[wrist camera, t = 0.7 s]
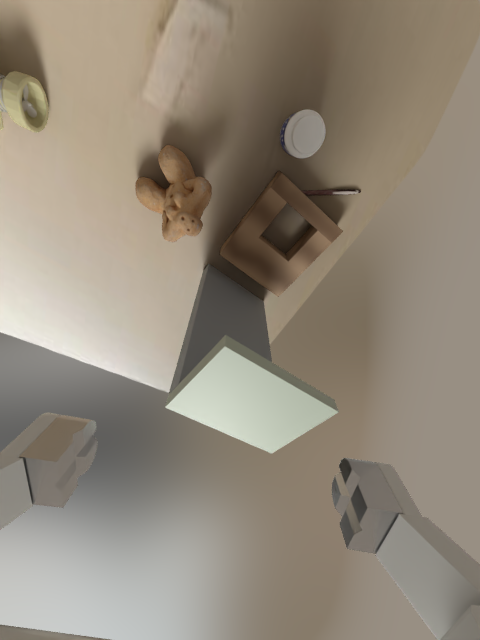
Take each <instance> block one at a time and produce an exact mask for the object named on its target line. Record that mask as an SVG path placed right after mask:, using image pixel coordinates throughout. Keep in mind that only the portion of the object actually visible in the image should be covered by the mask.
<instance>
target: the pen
mask: <svg viewBox="0 0 480 640" xmlns="http://www.w3.org/2000/svg"><path fill="white" fill-rule="evenodd" d="M301 192H303V193H304V194H305V195H345V194H357V193H360V192H361V191H358V190H313V191H301Z"/></svg>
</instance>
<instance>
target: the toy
mask: <svg viewBox="0 0 480 640" xmlns="http://www.w3.org/2000/svg"><path fill="white" fill-rule="evenodd" d="M1 111H2V112H6V113H8V114H9V116H10V117H11V118H12V120H13V121H14V122H15V123H16V124H18V125H20V126H22V127H24V128H26V129H28V130H30V131H32V132H40V131H41V130H43V129H44V127H45V126H46V123H47V120H48V102H47V98H46V94H45V91H44V89H43V87H42V85H41V84H40V82H39V81H38V80H37V79H36V78H34V77H32V76H30V75H26V74H23V73H20V72H17V71H13V72H10V73H8V75H7V76H3V75H1V74H0V130H3V121H2V114H1Z"/></svg>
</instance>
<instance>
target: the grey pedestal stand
mask: <svg viewBox="0 0 480 640" xmlns="http://www.w3.org/2000/svg"><path fill="white" fill-rule="evenodd" d="M165 407H166V408H168V409H170V410H173V411H175V412H177V413H179V414H182V415H184V416H186V417H189V418H191V419H194V420H196V421H198V422H200V423H202V424H205V425H207V426H209V427H212V428H214V429H216V430H219V431H221V432H223V433H226V434H228V435H230V436H233V437H235V438H237V439H239V440H242V441H244V442H246V443H249V444H251V445H253V446H256V447H258V448H260V449H263V450H265V451H267V452H269V453H273V452H275V451H276V450H278V449H280V448H281V447H283V446H285V445H286V444H288V443H289V442H291V441H292V440H294V439H296V438H297V437H299V436H301V435H302V434H304V433H306V432H307V431H309V430H310V429H312V428H314V427H315V426H317V425H318V424H320V423H322V422H323V421H325V420H327V419H328V418H330V417H331V416H333V415H335V414H336V413H338V412H339V411H338V409H337V406H336V403H335V400H334V399H332V398H331V397H329V396H327V395H325V394H324V393H322V392H321V391H319V390H317V389H316V388H314V387H312V386H311V385H309V384H307V383H306V382H304V381H302V380H301V379H299V378H297V377H296V376H294V375H292V374H291V373H289V372H287V371H286V370H284V369H282V368H281V367H279V366H277V365H275V364H274V363H272V360H271V352H270V345H269V338H268V330H267V323H266V316H265V309H264V302H263V301H262V300H261V299H259V298H258V297H256V296H255V295H253V294H252V293H250V292H249V291H248V290H246V289H245V288H243V287H242V286H240V285H239V284H238V283H236V282H235V281H233V280H232V279H230V278H229V277H227V276H226V275H225V274H223V273H222V272H220V271H219V270H217V269H216V268H215V267H213V266H212V265H210V264H208V265H207V267H206V268H205V269H204V271H203V274H202V277H201V281H200V285H199V288H198V292H197V295H196V299H195V302H194V306H193V310H192V313H191V317H190V320H189V324H188V327H187V331H186V335H185V338H184V342H183V345H182V349H181V352H180V356H179V360H178V363H177V367H176V370H175V374H174V377H173V381H172V384H171V388H170V392H169V396H168V399H167V402H166V406H165Z"/></svg>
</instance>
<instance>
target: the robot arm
mask: <svg viewBox="0 0 480 640" xmlns="http://www.w3.org/2000/svg"><path fill="white" fill-rule="evenodd" d="M95 431H96V422H95V421H93V420H88V419H83V418H77V417H72V416H66V415H58V414H53V413H45V414H42V415H41V416H39V417H38V418H37V419H36V420H35V421H34V422H33V423H32V424H31V425H30V426H28V427H27V428H26V429H25V430H24V431H23V432H22V433H21V434H20V435H19V436H18V437H17V438H16V439H14V440H13V441H12V442H11V443H10V444H9V445H8V446H7V447H6V448H5V449H4V450H3V451H1V452H0V530H1V529H2V528H4V527H5V526H6V525H8V524H9V523H11V522H12V521H13V520H14V519H16V518H17V517H19V516H20V515H21V514H23V513H24V512H26V511H27V510H28V509H30V508H31V507H32V506H33V505H32V504H35V505H44V506H53V507H61V508H63V507H64V505H65V504H66V502H67V501H68V500H69V498H70V496H71V495H72V493H73V492H74V490H75V489H76V487H77V486H78V482H77V478H78V477H79V476H81V475H82V474H84V473H85V472H87V470H88V469H89V467H90V466H91V464H92V462H93V460H94V457H95V455H96V451H97V439H96V438H95V437H94V436H93V434H94V432H95ZM339 468H340V471H341V472H340V473H339V474H337V475H335V477H334V480H333V483H332V497H333V502H334V506H335V509H336V510H337V511H338V512H339V513H340V514H341V516H342V519H341V522H340V527H341V530H342V533H343V537H344V540H345V544H346V547H347V549H352V550H357V551H362V552H368V553H374V554H376V555H375V556H376V557H377V558H378V560H379V561H380V563H381V564H382V565H383V567H384V568H385V569H386V571H387V572H388V573H389V575H390V576H391V578H392V579H393V580H394V582H395V583H396V584H397V586H398V587H399V588H400V590H401V591H402V592H403V594H404V595H405V597H406V598H407V599H408V601H409V602H410V603H411V605H412V606H413V607H414V609H415V610H416V612H417V613H418V614H419V616H420V617H421V618H422V620H423V621H424V622H425V624H426V625H427V627H428V628H429V629H430V631H431V632H432V633H433V635H434V636H435V637H436V639H437V640H480V564H479V563H478V562H477V561H475V560H474V559H473V558H472V557H471V556H470V555H469V554H468V553H466V552H465V551H464V550H463V549H462V548H461V547H460V546H459V545H457V544H456V543H455V542H454V541H453V540H452V539H451V538H450V537H448V536H447V535H446V534H445V533H444V532H443V531H442V530H441V529H439V528H438V527H437V526H436V525H435V524H434V523H433V522H432V521H431V520H429V519H428V518H425V517H422V515H421V513H420V512H419V510H418V508H417V506H416V505H415V503H414V501H413V500H412V498H411V496H410V494H409V493H408V491H407V489H406V487H405V486H404V484H403V482H402V481H401V479H400V477H399V475H398V474H397V472H396V470H395V469H394V467H393V466H391V465H390V464H384V463H377V462H370V461H362V460H355V459H349V458H344V459H342V460H341V462H340V464H339ZM0 640H110V639H102V638H94V637H87V636H80V635H72V634H65V633H58V632H51V631H43V630H36V629H28V628H21V627H14V626H6V625H0Z"/></svg>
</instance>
